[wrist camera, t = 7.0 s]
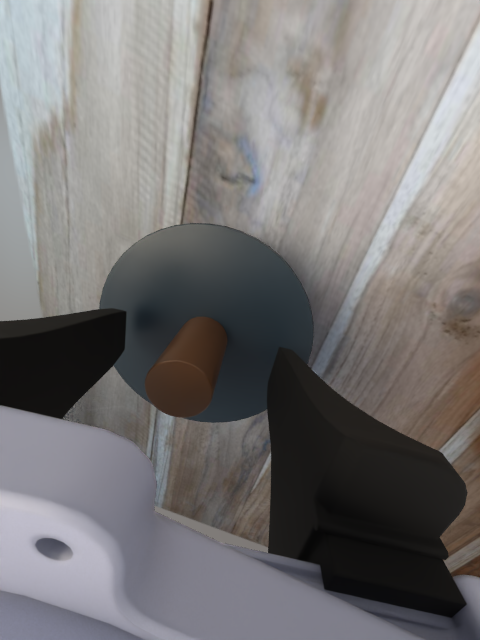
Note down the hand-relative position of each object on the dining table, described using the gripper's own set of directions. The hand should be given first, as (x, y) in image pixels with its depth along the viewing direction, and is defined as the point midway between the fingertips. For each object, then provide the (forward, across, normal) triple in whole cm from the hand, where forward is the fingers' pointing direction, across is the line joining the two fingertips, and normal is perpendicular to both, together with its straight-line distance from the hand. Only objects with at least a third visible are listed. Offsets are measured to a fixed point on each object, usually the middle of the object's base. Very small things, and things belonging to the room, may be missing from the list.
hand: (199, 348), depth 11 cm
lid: (+2, 0, 0) cm, 2 cm away
